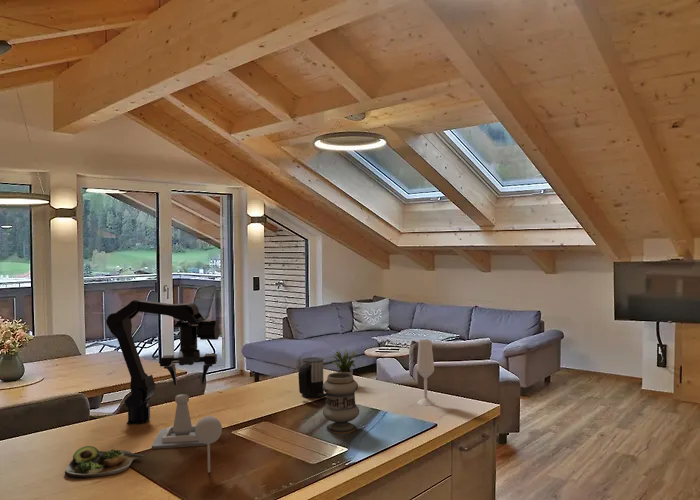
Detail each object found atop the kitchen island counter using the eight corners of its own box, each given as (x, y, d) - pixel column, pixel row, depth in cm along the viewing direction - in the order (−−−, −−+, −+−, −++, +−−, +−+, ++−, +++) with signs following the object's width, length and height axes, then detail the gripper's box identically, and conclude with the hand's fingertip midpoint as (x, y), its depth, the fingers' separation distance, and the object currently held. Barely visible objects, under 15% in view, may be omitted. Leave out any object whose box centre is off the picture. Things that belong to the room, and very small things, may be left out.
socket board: (151, 448, 170) (151, 441, 170) (161, 431, 185) (161, 424, 185) (205, 445, 172) (205, 437, 172) (210, 428, 188) (210, 421, 188)
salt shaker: (186, 439, 175) (185, 397, 175) (169, 438, 177) (168, 396, 176) (195, 433, 181) (194, 393, 181) (179, 432, 182) (178, 392, 182)
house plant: (322, 388, 238) (322, 350, 238) (329, 380, 252) (328, 344, 252) (355, 389, 236) (355, 351, 236) (360, 381, 250) (360, 345, 249)
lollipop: (198, 467, 155) (197, 413, 155) (224, 466, 156) (223, 412, 155) (193, 478, 148) (192, 421, 148) (220, 476, 148) (219, 420, 148)
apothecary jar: (315, 429, 186) (314, 375, 186) (340, 420, 195) (340, 368, 195) (341, 437, 178) (341, 380, 178) (366, 428, 187) (366, 374, 186)
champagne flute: (437, 401, 216) (436, 339, 216) (430, 406, 211) (429, 342, 211) (421, 399, 220) (420, 338, 220) (414, 403, 214) (413, 341, 214)
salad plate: (147, 451, 168) (146, 436, 168) (138, 475, 151) (138, 458, 151) (77, 457, 164) (77, 442, 164) (60, 482, 147) (59, 465, 147)
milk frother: (304, 392, 233) (304, 356, 233) (342, 393, 231) (341, 357, 231) (296, 401, 219) (295, 363, 219) (335, 402, 217) (335, 364, 217)
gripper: (156, 344, 186) (157, 391, 186) (214, 342, 189) (214, 389, 189) (162, 339, 197) (163, 383, 197) (216, 337, 200) (217, 381, 200)
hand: (189, 384), depth 195 cm, fingers open, 9 cm apart
